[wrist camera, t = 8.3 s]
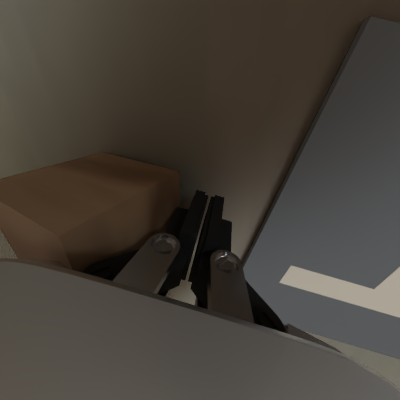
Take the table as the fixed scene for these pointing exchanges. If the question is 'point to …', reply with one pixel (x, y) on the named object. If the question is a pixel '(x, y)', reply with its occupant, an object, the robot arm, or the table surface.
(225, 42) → the table surface
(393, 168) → the slate mat
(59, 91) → the table surface
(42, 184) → the walnut block
